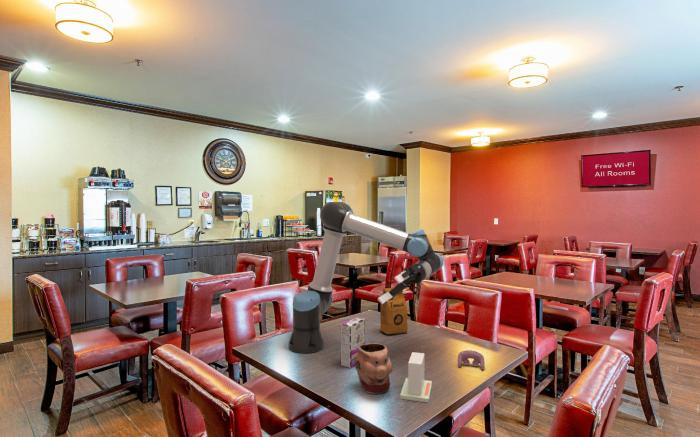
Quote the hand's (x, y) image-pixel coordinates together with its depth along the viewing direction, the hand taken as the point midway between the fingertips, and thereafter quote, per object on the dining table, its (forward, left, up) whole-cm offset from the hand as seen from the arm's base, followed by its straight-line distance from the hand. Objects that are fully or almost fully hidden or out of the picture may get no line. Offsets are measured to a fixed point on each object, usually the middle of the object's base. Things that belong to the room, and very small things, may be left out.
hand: (388, 291), depth 146 cm
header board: (+13, -15, -30) cm, 35 cm away
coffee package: (-5, +43, -30) cm, 53 cm away
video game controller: (+30, +11, -30) cm, 44 cm away
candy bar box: (-14, +2, -30) cm, 33 cm away
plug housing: (+13, -15, -28) cm, 34 cm away
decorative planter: (-2, -15, -30) cm, 34 cm away
